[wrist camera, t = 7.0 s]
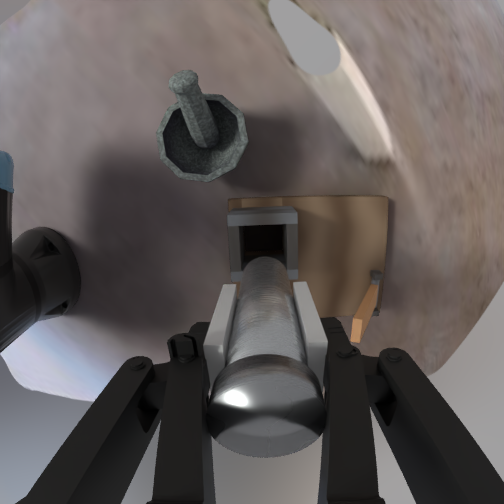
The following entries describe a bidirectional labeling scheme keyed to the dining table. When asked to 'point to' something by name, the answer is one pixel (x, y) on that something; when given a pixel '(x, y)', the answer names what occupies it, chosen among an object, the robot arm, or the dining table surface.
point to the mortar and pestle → (200, 132)
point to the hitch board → (318, 244)
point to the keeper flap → (365, 312)
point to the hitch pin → (266, 372)
